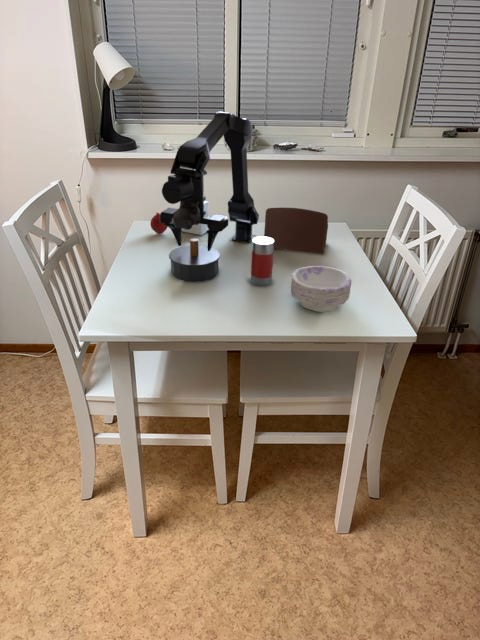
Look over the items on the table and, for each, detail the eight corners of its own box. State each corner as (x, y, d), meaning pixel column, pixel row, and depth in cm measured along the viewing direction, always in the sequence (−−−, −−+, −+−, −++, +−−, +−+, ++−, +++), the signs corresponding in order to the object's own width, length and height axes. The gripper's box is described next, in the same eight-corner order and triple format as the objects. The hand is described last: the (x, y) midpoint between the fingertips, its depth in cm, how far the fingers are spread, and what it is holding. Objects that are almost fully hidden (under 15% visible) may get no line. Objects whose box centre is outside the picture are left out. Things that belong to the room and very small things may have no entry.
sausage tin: (254, 275, 142) (256, 235, 136) (274, 279, 141) (277, 238, 134) (247, 284, 137) (248, 242, 131) (268, 288, 136) (270, 246, 129)
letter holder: (323, 254, 157) (328, 212, 150) (263, 247, 161) (265, 206, 154) (326, 243, 166) (331, 202, 158) (268, 237, 169) (271, 197, 162)
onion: (169, 231, 171) (168, 209, 167) (166, 237, 166) (164, 215, 162) (153, 230, 172) (152, 208, 168) (149, 236, 167) (147, 214, 163)
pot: (184, 259, 151) (183, 244, 148) (224, 266, 147) (225, 251, 145) (163, 277, 140) (162, 261, 137) (206, 285, 136) (206, 269, 133)
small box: (209, 230, 173) (209, 201, 168) (201, 235, 169) (201, 205, 164) (189, 226, 176) (189, 198, 171) (181, 231, 172) (180, 202, 166)
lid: (182, 245, 149) (182, 228, 146) (227, 253, 145) (227, 235, 142) (160, 263, 137) (158, 244, 135) (207, 272, 133) (207, 253, 130)
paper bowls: (313, 285, 138) (316, 259, 134) (358, 304, 129) (363, 277, 125) (277, 302, 129) (279, 275, 124) (323, 324, 119) (327, 296, 115)
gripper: (147, 197, 128) (151, 253, 136) (213, 207, 123) (213, 264, 131) (167, 187, 137) (170, 239, 145) (229, 195, 132) (228, 249, 140)
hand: (194, 248), depth 140 cm, fingers open, 9 cm apart
